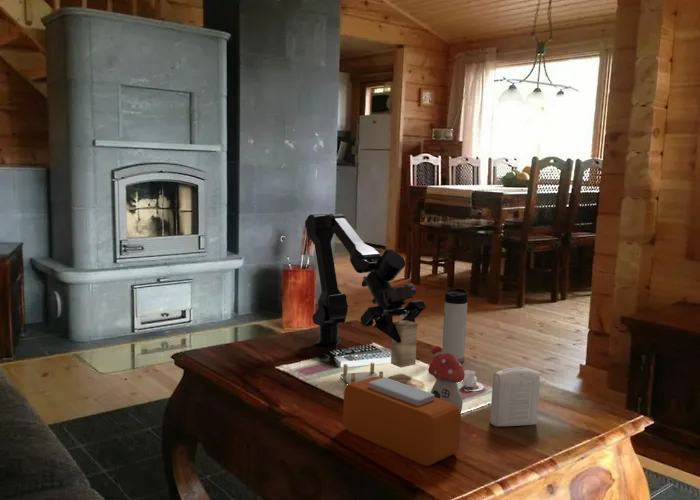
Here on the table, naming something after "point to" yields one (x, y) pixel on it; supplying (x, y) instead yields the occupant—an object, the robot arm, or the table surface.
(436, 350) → the decorative ornament
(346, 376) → the pin base
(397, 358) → the wooden block
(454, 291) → the travel mug
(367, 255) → the robot arm
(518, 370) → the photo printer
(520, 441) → the table surface
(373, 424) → the alarm clock
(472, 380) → the teacup and saucer
